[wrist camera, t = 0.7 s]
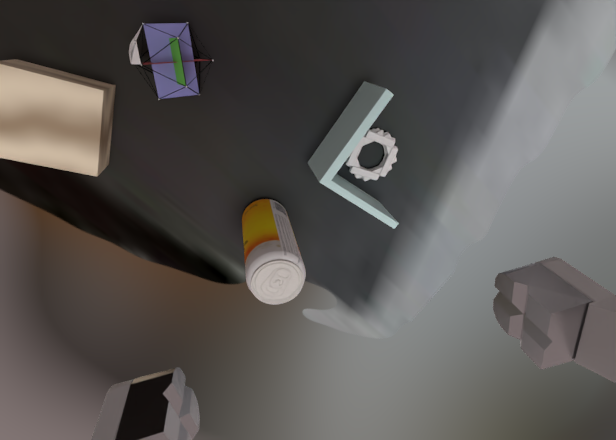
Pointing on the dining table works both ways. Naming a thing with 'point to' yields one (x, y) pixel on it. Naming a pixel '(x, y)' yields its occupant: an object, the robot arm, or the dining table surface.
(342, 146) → the right angle wall
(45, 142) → the oak base block
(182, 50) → the geometric puzzle
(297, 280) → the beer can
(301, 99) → the dining table surface
